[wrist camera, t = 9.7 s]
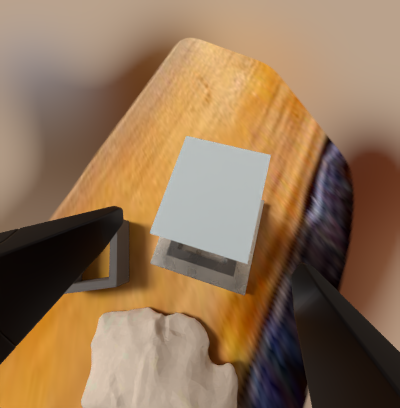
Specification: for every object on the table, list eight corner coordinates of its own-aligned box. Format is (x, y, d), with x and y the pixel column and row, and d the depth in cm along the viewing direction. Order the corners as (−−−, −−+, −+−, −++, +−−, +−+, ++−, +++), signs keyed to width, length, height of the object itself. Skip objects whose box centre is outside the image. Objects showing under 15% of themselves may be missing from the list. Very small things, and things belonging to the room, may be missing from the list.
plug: (218, 251, 16) (247, 264, 4) (191, 243, 17) (149, 233, 5) (226, 219, 17) (270, 155, 5) (200, 211, 18) (186, 135, 6)
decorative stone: (253, 349, 15) (132, 275, 19) (265, 370, 12) (114, 275, 16) (206, 519, 12) (66, 386, 15) (204, 622, 8) (23, 418, 12)
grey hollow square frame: (129, 281, 17) (116, 286, 15) (74, 288, 17) (53, 295, 15) (128, 221, 19) (117, 217, 16) (79, 227, 19) (61, 225, 16)
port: (242, 292, 16) (251, 304, 13) (153, 262, 17) (140, 266, 14) (261, 203, 19) (273, 193, 15) (181, 181, 20) (176, 168, 16)
